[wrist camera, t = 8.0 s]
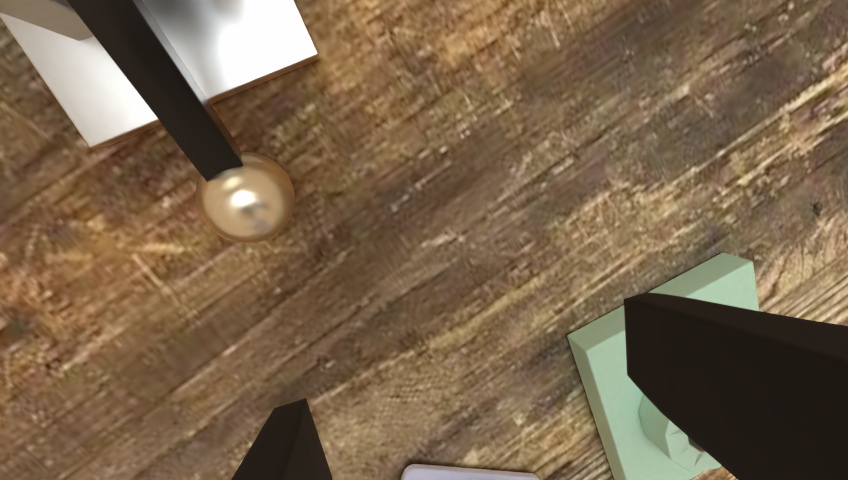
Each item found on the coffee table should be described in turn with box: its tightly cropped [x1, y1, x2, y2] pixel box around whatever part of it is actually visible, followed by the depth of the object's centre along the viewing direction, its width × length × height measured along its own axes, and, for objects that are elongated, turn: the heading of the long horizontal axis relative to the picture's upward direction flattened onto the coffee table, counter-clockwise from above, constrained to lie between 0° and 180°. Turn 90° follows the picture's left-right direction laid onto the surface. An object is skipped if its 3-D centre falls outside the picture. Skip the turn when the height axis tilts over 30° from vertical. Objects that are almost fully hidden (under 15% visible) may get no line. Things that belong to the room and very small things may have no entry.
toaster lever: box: [67, 0, 295, 243], centre depth 10 cm, size 12×3×3 cm, turn 23°
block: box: [567, 253, 759, 480], centre depth 22 cm, size 12×10×4 cm
